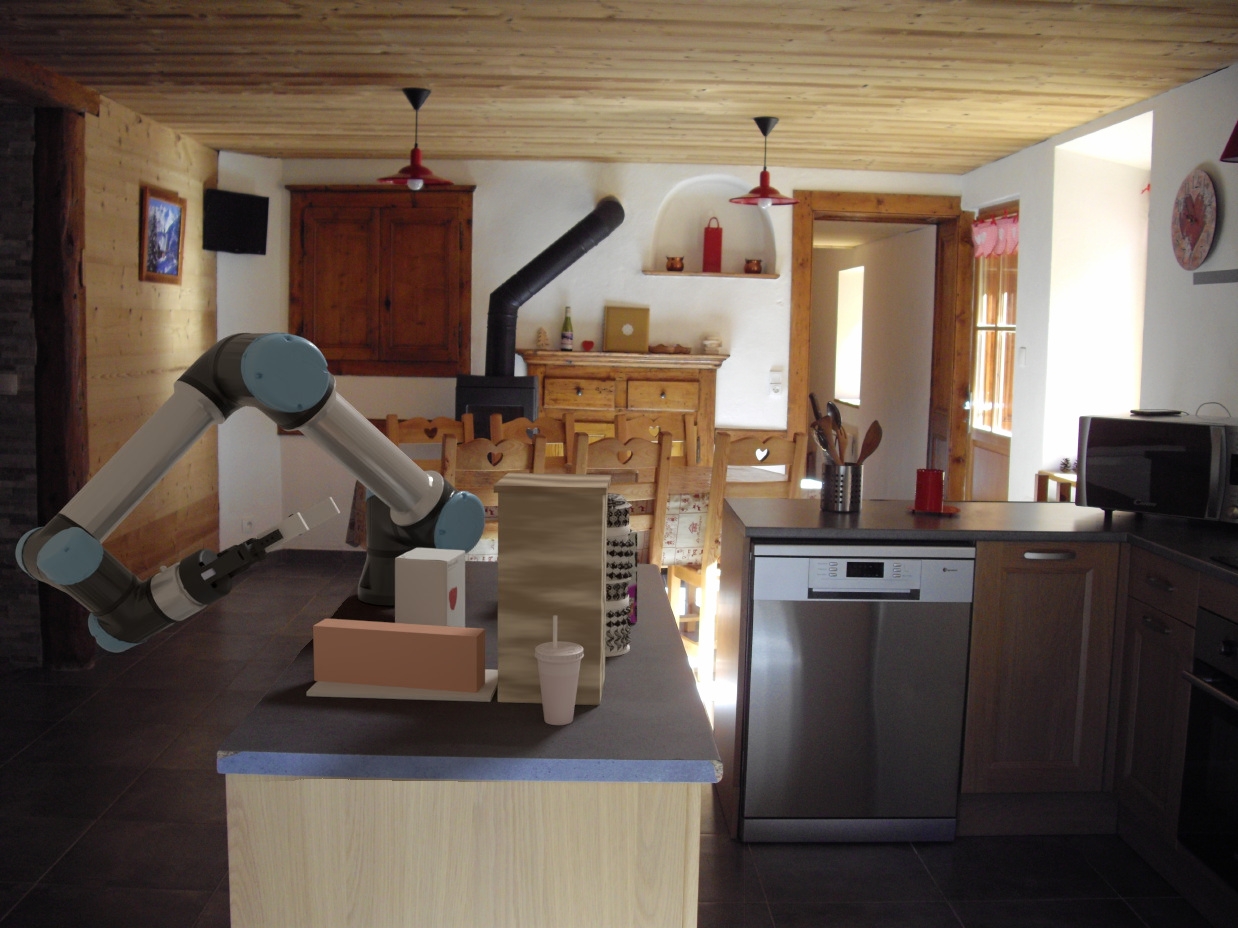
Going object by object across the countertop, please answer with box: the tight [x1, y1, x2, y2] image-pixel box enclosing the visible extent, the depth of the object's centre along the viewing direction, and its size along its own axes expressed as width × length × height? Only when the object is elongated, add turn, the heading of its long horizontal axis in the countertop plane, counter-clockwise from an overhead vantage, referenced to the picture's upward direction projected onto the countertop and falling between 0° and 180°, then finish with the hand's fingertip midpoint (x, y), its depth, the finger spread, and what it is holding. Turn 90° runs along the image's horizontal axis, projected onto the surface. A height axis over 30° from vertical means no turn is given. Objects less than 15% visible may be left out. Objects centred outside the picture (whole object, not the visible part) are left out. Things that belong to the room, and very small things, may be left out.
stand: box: [493, 472, 612, 706], centre depth 147 cm, size 13×15×30 cm
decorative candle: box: [605, 492, 634, 658], centre depth 167 cm, size 9×9×25 cm
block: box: [312, 618, 486, 693], centre depth 148 cm, size 4×24×8 cm, turn 80°
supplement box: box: [394, 548, 466, 628], centre depth 169 cm, size 9×9×15 cm
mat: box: [306, 668, 498, 703], centre depth 150 cm, size 12×26×1 cm, turn 87°
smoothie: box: [535, 615, 584, 726], centre depth 136 cm, size 6×6×14 cm
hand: (320, 512), depth 147 cm, fingers open, 13 cm apart
